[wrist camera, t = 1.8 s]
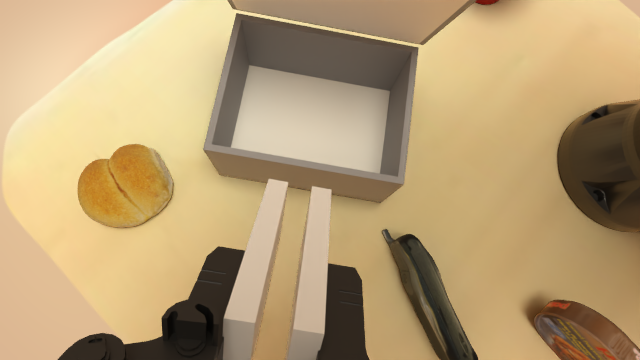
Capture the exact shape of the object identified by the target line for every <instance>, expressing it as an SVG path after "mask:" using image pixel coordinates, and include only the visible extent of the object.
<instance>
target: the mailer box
mask: <svg viewBox="0 0 640 360" xmlns="http://www.w3.org/2000/svg"><path fill="white" fill-rule="evenodd" d="M417 56H418V47H412V46H407V45H402V44H396V43H391V42H386V41H381V40H375V39H370V38H365V37H359V36H354V35H349V34H344V33H338V32H333V31H328V30H322V29H317V28H312V27H307V26H301V25H296V24H291V23H285V22H280V21H275V20H270V19H264V18H259V17H254V16H248V15H243V14H238V13H236V17H235V21H234V25H233V29H232V34H231V38H230V42H229V46H228V50H227V54H226V58H225V62H224V66H223V70H222V75H221V79H220V83H219V87H218V91H217V95H216V99H215V103H214V107H213V111H212V115H211V120H210V124H209V128H208V132H207V136H206V140H205V144H204V148H203V150H204V151H205V153H206V154H207V156H208V157H209V159H210V160H211V162H212V163H213V165H214V167H215V168H216V170H217V171H218V173H219V174H220V175H223V176H229V177H234V178H240V179H246V180H252V181H258V182H263V183H268V180H269V179H273V180H279V181H285V182H288V187H293V188H298V189H304V190H310V191H311V190H312V186H314V187H319V188H325V189H331V190H332V191H331V194H333V195H339V196H345V197H351V198H357V199H362V200H368V201H374V202H380V203H381V202H382V201H383V200H385V199H386V198H387V197H388V196H390V195H391V194H392V193H393V192H395V191H396V190H397V189H399V188H400V187H401V186H402V185H404V178H405V169H406V160H407V150H408V141H409V132H410V122H411V113H412V103H413V94H414V85H415V75H416V66H417Z"/></svg>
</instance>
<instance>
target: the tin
mask: <svg viewBox="0 0 640 360" xmlns="http://www.w3.org/2000/svg"><path fill="white" fill-rule="evenodd" d="M534 324H535V327H536V329H537V331H538V333H539V334H540V336H541V337H542V339H543V340H544V341H545V342H546V343H547V344H548V346H549V347H550V348H551V349H552V350H553V351H554V352H555V353H556V354H557V355H558V356H559V358H560V359H561V360H640V349H639V348H638V347H637V346H636V345H635V344H634V343H633V342H632V341H631V340H630V339H629V338H628V337H627V335H626V334H625V333H624V332H623V331H622V330H621V329H619V328H618V327H617V326H616V325H615V324H614V323H612V322H611V321H610V320H609V319H607V318H606V317H604V316H603V315H601V314H600V313H598V312H596V311H595V310H593V309H591V308H589V307H587V306H585V305H582V304H580V303H577V302H573V301H565V300H553V301H550V302H549V303H548V304H547V305H546V306H545V307H544V308H543V309H542V311H541V312H540V313H539V314H537V315H536V316H535V318H534Z"/></svg>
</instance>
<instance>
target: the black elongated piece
mask: <svg viewBox="0 0 640 360" xmlns="http://www.w3.org/2000/svg"><path fill="white" fill-rule="evenodd" d="M382 233H383V235H384V237H385V239H386V241H387V243H388V244H389V246H390V248H391V250H392V252H393V256H394V258H395V260H396V262H397V264H398V267H399V269H400V273H401V279H402V283H403V285H404V287H405V289H406V291H407V293H408V295H409V297H410V300H411V302H412V304H413V306H414V308H415V311H416V313H417V315H418V317H419V319H420V321H421V323H422V325H423V327H424V329H425V331H426V333H427V336H428V338H429V340H430V342H431V344H432V346H433V348H434V350H435V352H436V354H437V355H438V357H439V358H440V359H441V360H478V357H477V355H476V353H475V351H474V349H473V348H472V346H471V344H470V342H469V340H468V338H467V336H466V334H465V332H464V330H463V328H462V326H461V324H460V322H459V320H458V318H457V316H456V313H455V311H454V309H453V307H452V305H451V303H450V301H449V299H448V297H447V294H446V291H445V288H444V285H443V282H442V279H441V276H440V273H439V270H438V268H437V266H436V264H435V262H434V260H433V258H432V257H431V255H430V254H429V253H428V252H427V250H426V249H425V248H424V246H423V245H422V243H421V242H420V241H419V239H418V238H416V237H415V236H414V235H412V234H406V235H403V236H401V237H399V238H397V239H396V240H394V239H393V238H392V237H391V236H390V234H389V232H388V230H387V229H385V230H383V231H382Z"/></svg>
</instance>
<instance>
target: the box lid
mask: <svg viewBox="0 0 640 360" xmlns="http://www.w3.org/2000/svg"><path fill="white" fill-rule="evenodd" d="M475 1H476V0H228V2H229V3H230V5H231V7H232V8H233V9H236V10H241V11H247V12H252V13H257V14H262V15H268V16H273V17H278V18H284V19H289V20H294V21H299V22H305V23H310V24H315V25H320V26H326V27H331V28H336V29H342V30H347V31H352V32H357V33H363V34H368V35H373V36H378V37H384V38H389V39H394V40H400V41H405V42H410V43H415V44H421V45H424V44H425V43H426V42H427V41H428V40H430V39H431V38H432V37H433V36H434V35H436V34H437V33H438V32H439V31H440V30H442V29H443V28H444V27H445V26H446V25H448V24H449V23H450V22H451V21H452V20H454V19H455V18H456V17H457V16H458V15H460V14H461V13H462V12H463V11H464V10H466V9H467V8H468V7H469V6H470V5H472V4H473V3H474V2H475Z"/></svg>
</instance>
